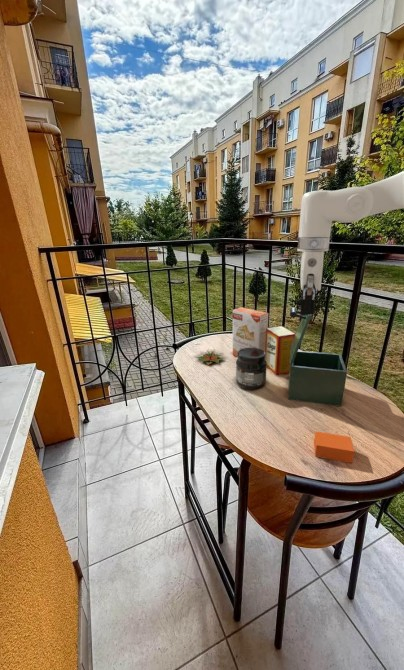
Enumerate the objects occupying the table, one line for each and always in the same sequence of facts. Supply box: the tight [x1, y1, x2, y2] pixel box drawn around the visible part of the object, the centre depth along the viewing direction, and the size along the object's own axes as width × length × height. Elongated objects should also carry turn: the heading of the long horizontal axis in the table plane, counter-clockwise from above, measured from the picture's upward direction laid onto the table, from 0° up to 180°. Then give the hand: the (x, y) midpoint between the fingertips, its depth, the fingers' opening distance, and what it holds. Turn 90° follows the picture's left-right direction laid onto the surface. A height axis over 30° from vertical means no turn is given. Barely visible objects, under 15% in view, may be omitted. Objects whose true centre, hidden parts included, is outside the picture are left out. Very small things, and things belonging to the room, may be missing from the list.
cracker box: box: [232, 306, 269, 357], centre depth 115 cm, size 14×6×21 cm, turn 42°
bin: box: [287, 350, 348, 407], centre depth 90 cm, size 16×13×12 cm
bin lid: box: [289, 307, 312, 365], centre depth 88 cm, size 16×13×5 cm
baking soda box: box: [265, 325, 296, 377], centre depth 106 cm, size 10×6×16 cm
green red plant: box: [196, 348, 225, 366], centre depth 118 cm, size 12×12×5 cm
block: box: [313, 431, 355, 464], centre depth 67 cm, size 8×5×3 cm, turn 73°
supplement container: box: [235, 348, 267, 391], centre depth 97 cm, size 10×10×12 cm
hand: (306, 309), depth 78 cm, fingers open, 9 cm apart
